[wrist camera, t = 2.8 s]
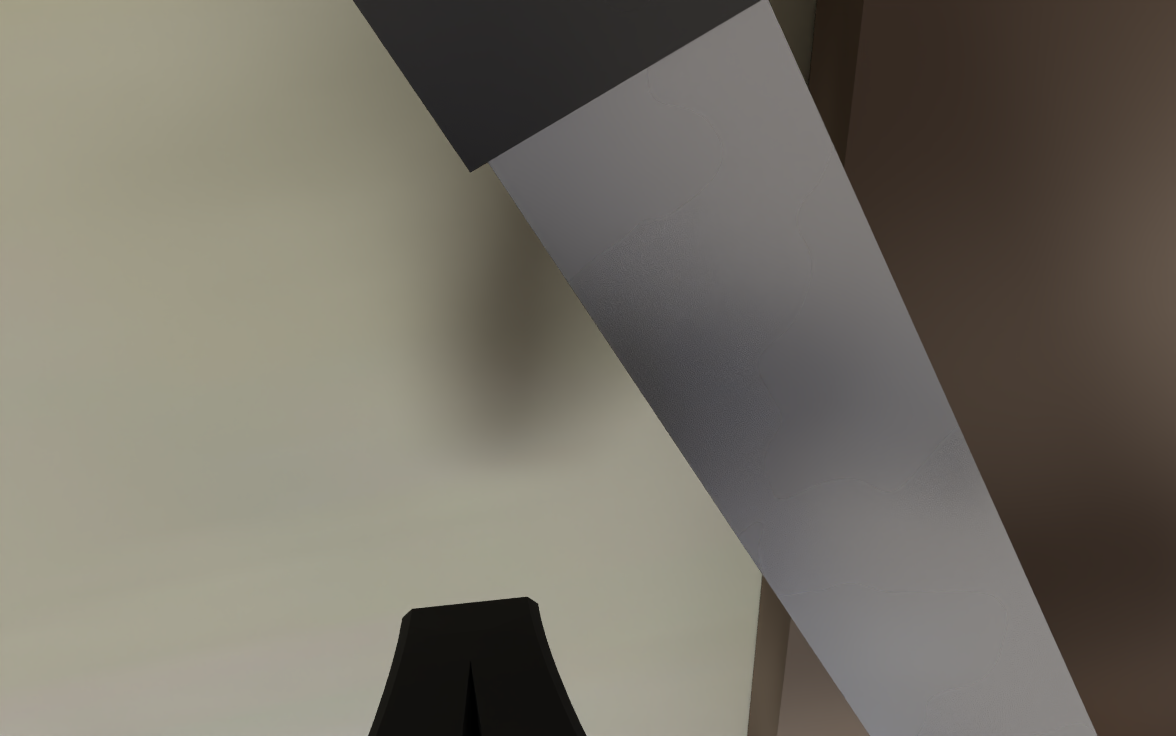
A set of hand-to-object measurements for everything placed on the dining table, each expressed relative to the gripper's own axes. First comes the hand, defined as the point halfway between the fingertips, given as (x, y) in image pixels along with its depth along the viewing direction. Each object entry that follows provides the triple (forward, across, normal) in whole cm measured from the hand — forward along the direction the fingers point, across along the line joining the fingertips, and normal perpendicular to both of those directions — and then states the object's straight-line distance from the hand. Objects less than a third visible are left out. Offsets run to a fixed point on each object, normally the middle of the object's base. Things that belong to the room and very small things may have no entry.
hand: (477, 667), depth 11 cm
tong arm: (0, -7, +2) cm, 8 cm away
